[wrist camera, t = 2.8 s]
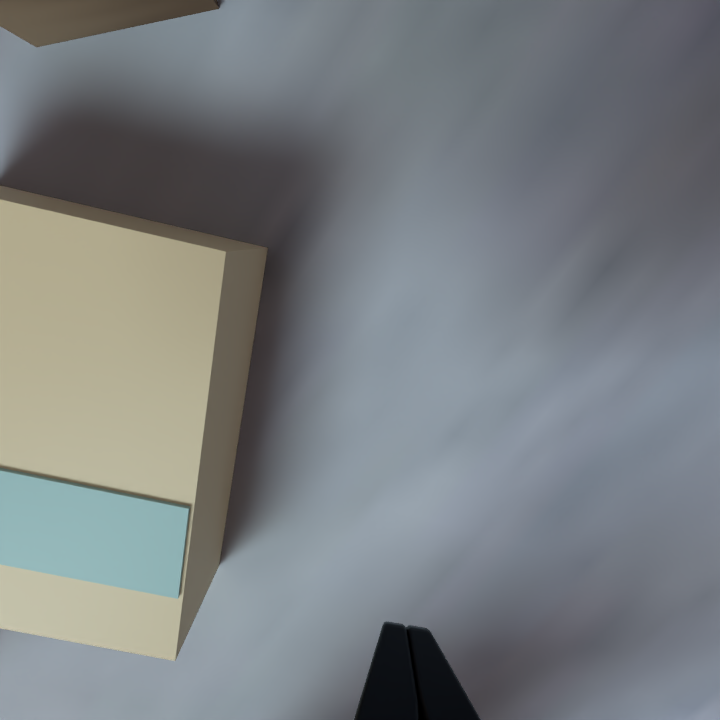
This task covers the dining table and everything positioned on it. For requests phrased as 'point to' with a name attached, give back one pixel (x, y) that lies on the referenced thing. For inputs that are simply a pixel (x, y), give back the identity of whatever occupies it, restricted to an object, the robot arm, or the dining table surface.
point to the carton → (116, 418)
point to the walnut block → (88, 16)
